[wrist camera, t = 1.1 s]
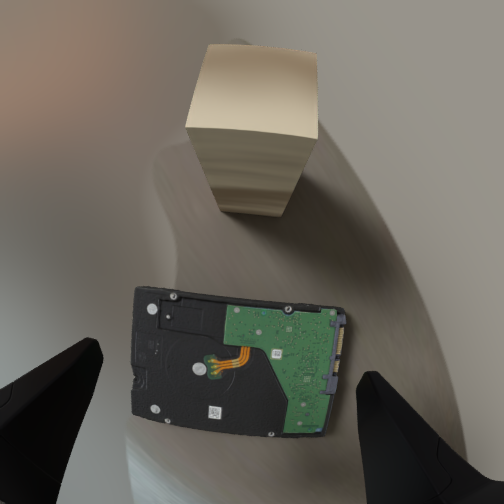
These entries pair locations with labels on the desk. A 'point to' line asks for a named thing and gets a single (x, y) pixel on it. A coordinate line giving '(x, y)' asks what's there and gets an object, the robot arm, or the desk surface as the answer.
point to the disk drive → (234, 363)
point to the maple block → (254, 124)
